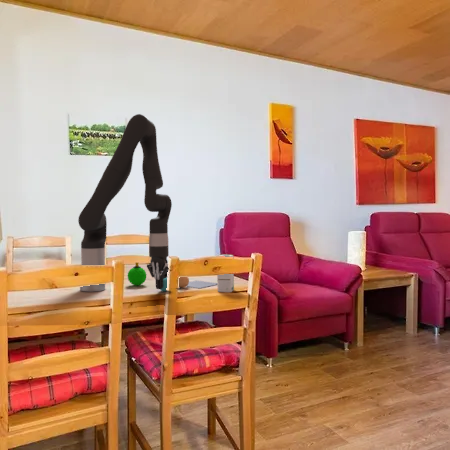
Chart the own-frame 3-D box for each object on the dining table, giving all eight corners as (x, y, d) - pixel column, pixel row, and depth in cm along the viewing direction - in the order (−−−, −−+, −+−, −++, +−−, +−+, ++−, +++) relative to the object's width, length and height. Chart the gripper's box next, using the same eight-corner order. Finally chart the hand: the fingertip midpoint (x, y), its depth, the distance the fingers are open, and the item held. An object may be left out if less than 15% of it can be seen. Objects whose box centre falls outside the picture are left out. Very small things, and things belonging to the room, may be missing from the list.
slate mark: (199, 288, 174) (199, 288, 174) (175, 285, 183) (175, 284, 183) (220, 284, 185) (220, 283, 185) (196, 280, 194) (196, 280, 194)
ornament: (149, 286, 181) (149, 262, 180) (131, 287, 176) (131, 264, 176) (142, 283, 187) (142, 261, 187) (125, 285, 183) (124, 262, 183)
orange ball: (175, 289, 173) (175, 275, 173) (176, 286, 179) (176, 273, 179) (188, 288, 174) (188, 275, 173) (189, 286, 179) (189, 273, 179)
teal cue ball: (156, 280, 165) (165, 272, 169) (153, 287, 169) (162, 279, 173) (167, 289, 164) (176, 280, 168) (164, 296, 168) (173, 288, 172)
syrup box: (231, 292, 166) (231, 255, 165) (217, 291, 167) (216, 255, 167) (234, 289, 171) (234, 254, 171) (220, 289, 173) (220, 254, 172)
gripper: (177, 244, 163) (177, 289, 163) (155, 243, 171) (155, 285, 172) (162, 246, 157) (162, 292, 157) (140, 244, 166) (141, 288, 166)
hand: (159, 288), depth 165 cm, fingers closed
